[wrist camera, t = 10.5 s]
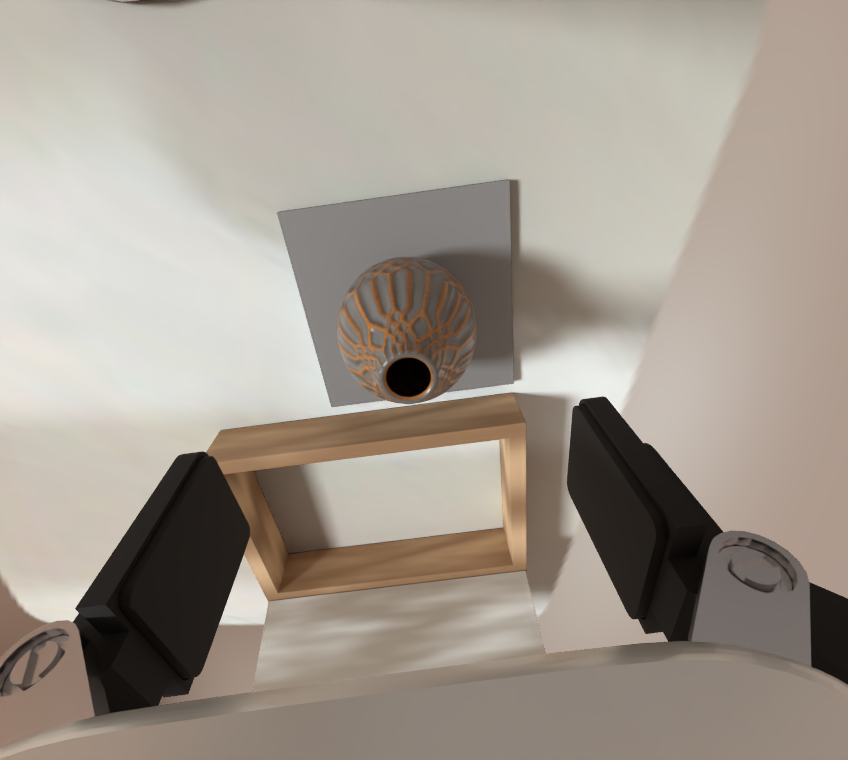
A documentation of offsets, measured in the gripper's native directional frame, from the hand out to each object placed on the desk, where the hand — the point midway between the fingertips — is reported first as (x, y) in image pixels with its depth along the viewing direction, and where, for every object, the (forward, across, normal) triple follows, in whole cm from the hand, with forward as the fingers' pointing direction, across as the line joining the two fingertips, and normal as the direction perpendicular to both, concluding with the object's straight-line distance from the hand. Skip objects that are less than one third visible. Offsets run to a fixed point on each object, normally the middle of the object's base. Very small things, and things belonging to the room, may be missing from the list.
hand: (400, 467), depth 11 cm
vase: (+15, 0, +1) cm, 15 cm away
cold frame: (+15, +4, +18) cm, 23 cm away
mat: (+15, 0, +1) cm, 15 cm away
